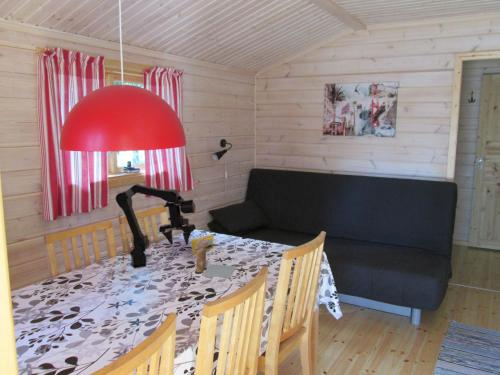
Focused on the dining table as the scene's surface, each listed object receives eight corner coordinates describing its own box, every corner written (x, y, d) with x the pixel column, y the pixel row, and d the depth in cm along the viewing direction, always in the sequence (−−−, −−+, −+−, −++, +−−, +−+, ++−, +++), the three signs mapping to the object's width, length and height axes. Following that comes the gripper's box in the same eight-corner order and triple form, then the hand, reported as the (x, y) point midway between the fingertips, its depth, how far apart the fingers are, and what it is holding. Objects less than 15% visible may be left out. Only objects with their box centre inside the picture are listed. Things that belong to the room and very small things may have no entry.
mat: (202, 275, 209) (202, 275, 209) (209, 264, 225) (209, 264, 225) (230, 277, 207) (230, 276, 207) (236, 266, 223) (236, 266, 223)
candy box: (194, 254, 241) (194, 240, 240) (191, 254, 243) (191, 239, 241) (213, 248, 254) (213, 234, 253) (210, 247, 255) (211, 234, 254)
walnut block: (196, 272, 214) (196, 252, 212) (200, 267, 221) (200, 248, 219) (202, 272, 213) (202, 252, 212) (205, 267, 220) (205, 248, 219)
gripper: (199, 210, 219) (203, 240, 221) (169, 211, 227) (173, 239, 230) (187, 215, 209) (191, 246, 212) (156, 216, 217) (160, 246, 220)
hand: (179, 244), depth 218 cm, fingers open, 9 cm apart
